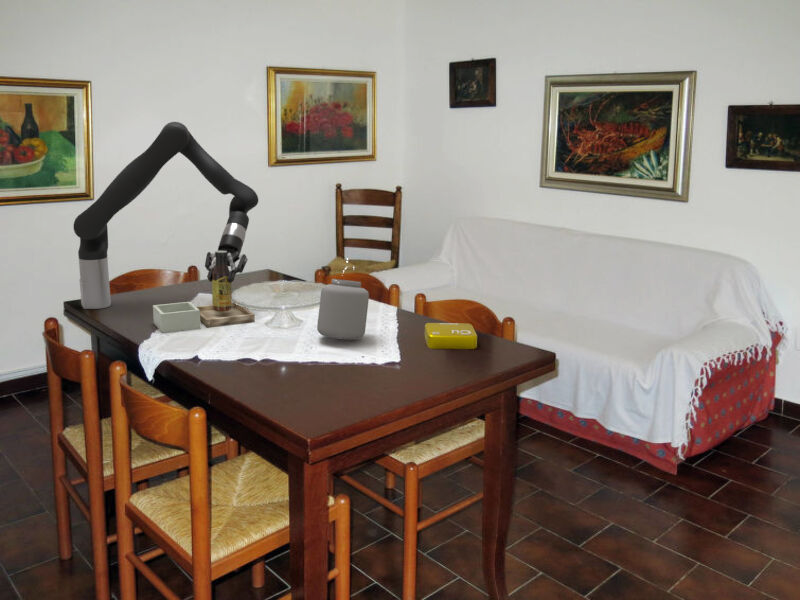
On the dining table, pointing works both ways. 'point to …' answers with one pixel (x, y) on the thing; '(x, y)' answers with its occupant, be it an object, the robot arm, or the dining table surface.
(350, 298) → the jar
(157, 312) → the box
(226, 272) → the sauce bottle
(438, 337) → the element tile
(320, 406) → the dining table surface
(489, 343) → the dining table surface
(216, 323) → the tray
